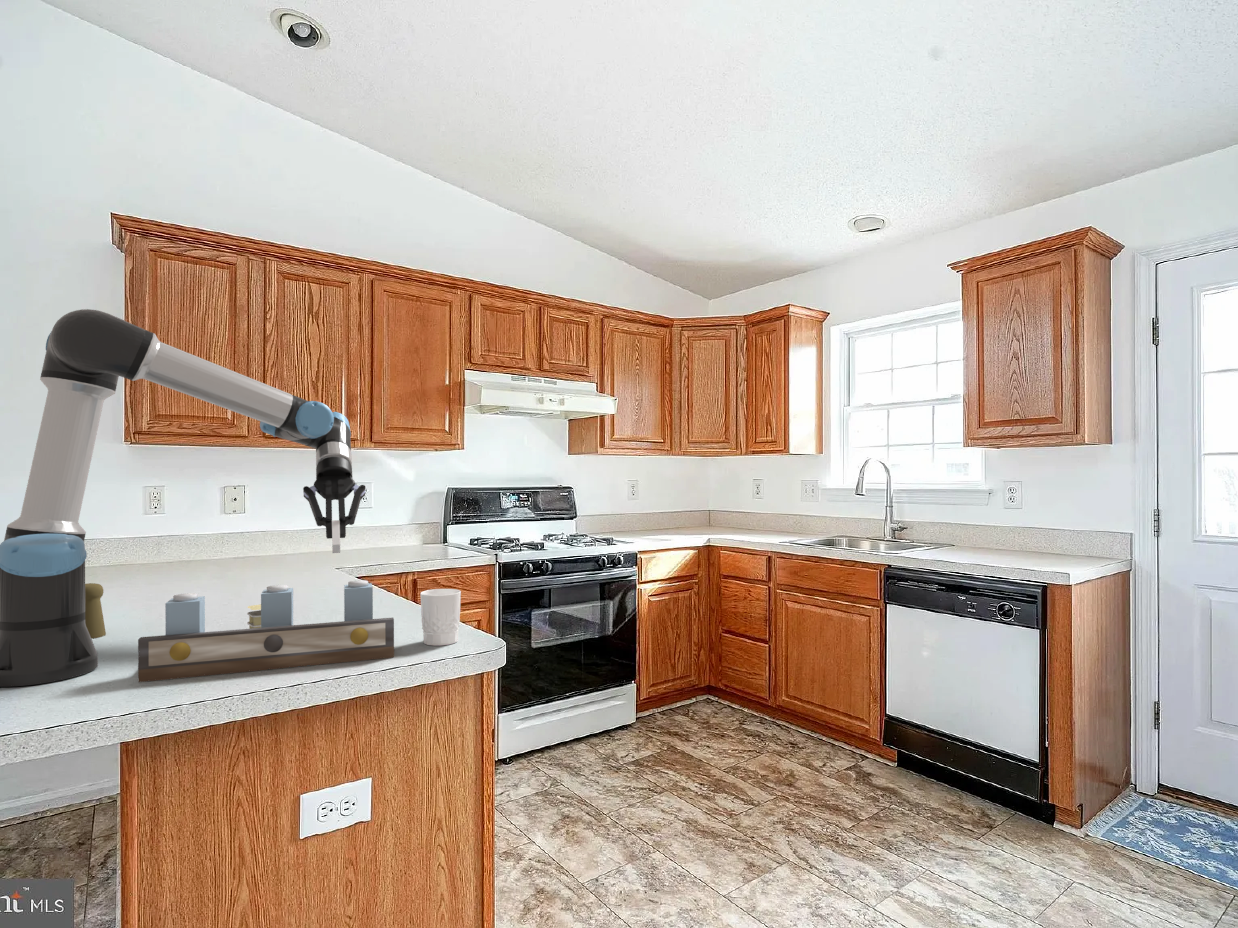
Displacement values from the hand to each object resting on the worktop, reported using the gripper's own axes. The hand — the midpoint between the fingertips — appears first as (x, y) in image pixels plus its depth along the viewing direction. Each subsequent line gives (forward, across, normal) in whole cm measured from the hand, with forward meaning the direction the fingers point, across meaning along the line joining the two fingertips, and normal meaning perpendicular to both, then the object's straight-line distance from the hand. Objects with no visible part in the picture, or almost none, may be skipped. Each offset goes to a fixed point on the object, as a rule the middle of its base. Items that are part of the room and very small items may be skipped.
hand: (336, 548), depth 146 cm
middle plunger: (+19, +10, -3) cm, 22 cm away
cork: (-4, +48, -29) cm, 57 cm away
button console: (+22, +11, -4) cm, 24 cm away
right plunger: (+20, -4, -3) cm, 20 cm away
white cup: (+21, -19, -6) cm, 29 cm away
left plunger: (+21, +25, -1) cm, 33 cm away
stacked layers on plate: (+3, +15, -24) cm, 28 cm away
